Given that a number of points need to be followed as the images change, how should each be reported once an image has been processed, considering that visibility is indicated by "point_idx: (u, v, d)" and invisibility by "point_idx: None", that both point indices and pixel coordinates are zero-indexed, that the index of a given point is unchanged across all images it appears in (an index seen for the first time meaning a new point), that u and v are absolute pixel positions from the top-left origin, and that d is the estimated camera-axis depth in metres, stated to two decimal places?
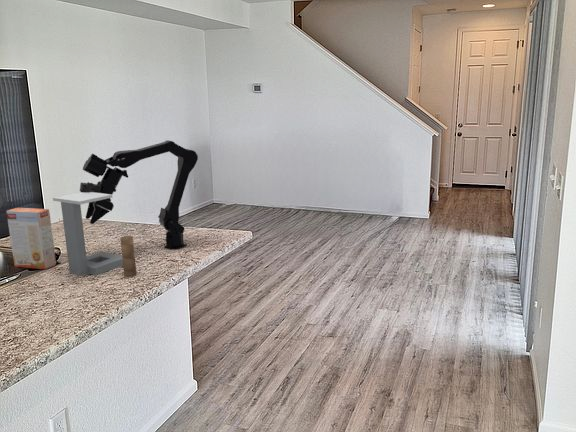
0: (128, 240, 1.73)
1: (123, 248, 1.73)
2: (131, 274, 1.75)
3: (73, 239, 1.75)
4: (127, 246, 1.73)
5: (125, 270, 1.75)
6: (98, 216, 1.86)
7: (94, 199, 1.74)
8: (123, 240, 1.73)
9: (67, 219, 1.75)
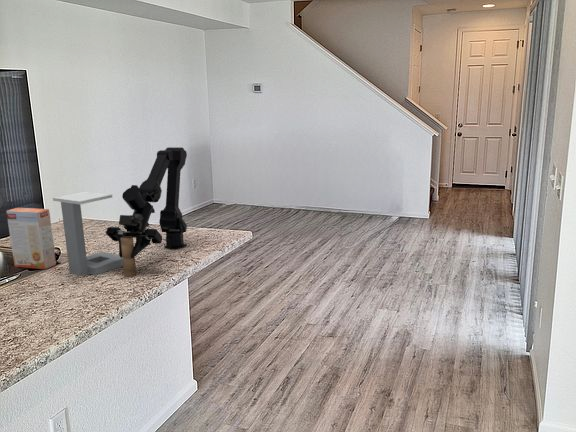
0: (128, 240, 1.73)
1: (123, 248, 1.73)
2: (131, 274, 1.75)
3: (73, 239, 1.75)
4: (127, 246, 1.73)
5: (125, 270, 1.75)
6: (139, 250, 1.76)
7: (94, 199, 1.74)
8: (123, 240, 1.73)
9: (67, 219, 1.75)
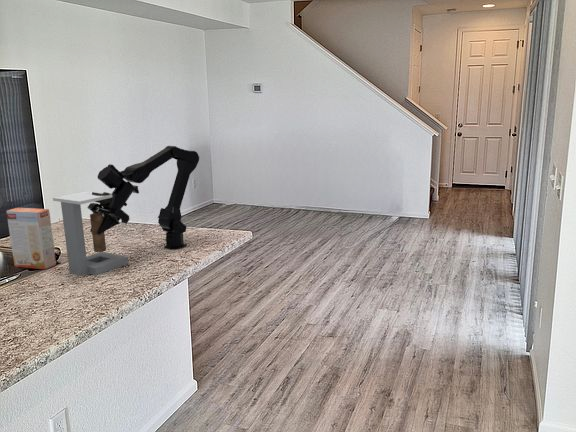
0: (94, 217, 1.79)
1: (91, 224, 1.80)
2: (98, 250, 1.82)
3: (73, 239, 1.75)
4: (93, 222, 1.79)
5: None
6: (107, 227, 1.81)
7: (94, 199, 1.74)
8: (90, 216, 1.80)
9: (67, 219, 1.75)
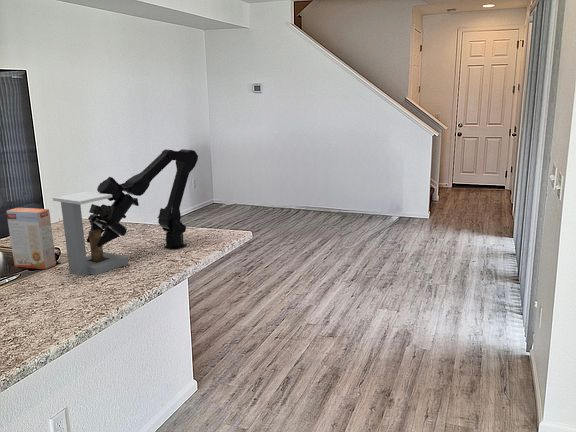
0: (92, 234, 1.82)
1: None
2: None
3: (73, 239, 1.75)
4: (92, 239, 1.82)
5: (92, 261, 1.85)
6: (107, 240, 1.82)
7: (94, 199, 1.74)
8: (89, 233, 1.83)
9: (67, 219, 1.75)
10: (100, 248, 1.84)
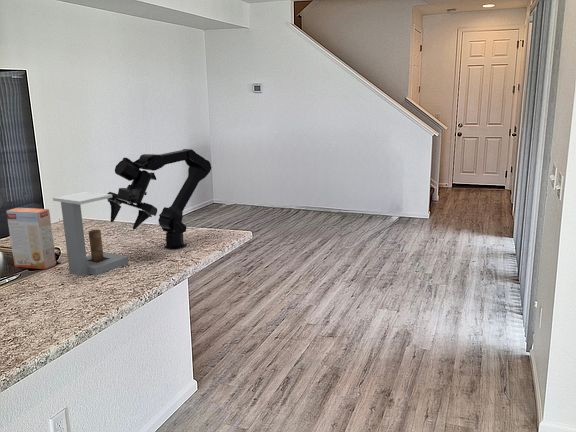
0: (92, 234, 1.82)
1: None
2: None
3: (73, 239, 1.75)
4: (91, 239, 1.82)
5: (92, 261, 1.85)
6: (141, 222, 1.89)
7: (94, 199, 1.74)
8: (89, 233, 1.83)
9: (67, 219, 1.75)
10: (100, 248, 1.84)
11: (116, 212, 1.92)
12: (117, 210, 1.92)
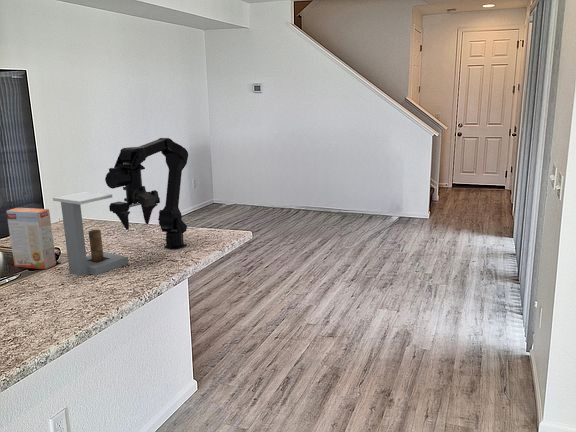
0: (92, 234, 1.82)
1: None
2: None
3: (73, 239, 1.75)
4: (91, 239, 1.82)
5: (92, 261, 1.85)
6: None
7: (94, 199, 1.74)
8: (89, 233, 1.83)
9: (67, 219, 1.75)
10: (100, 248, 1.84)
11: None
12: None
